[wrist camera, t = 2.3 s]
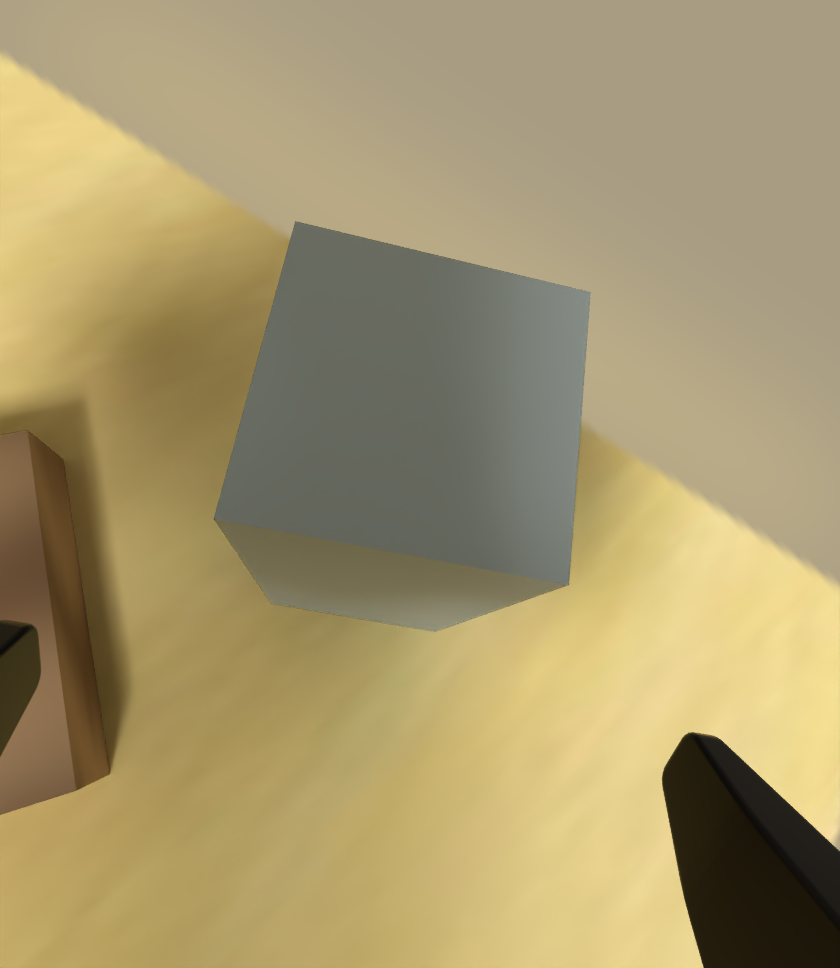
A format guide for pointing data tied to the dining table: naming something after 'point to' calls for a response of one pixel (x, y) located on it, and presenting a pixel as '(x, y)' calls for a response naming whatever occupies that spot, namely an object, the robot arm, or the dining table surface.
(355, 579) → the slate block
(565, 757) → the dining table surface
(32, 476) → the walnut block
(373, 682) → the dining table surface
